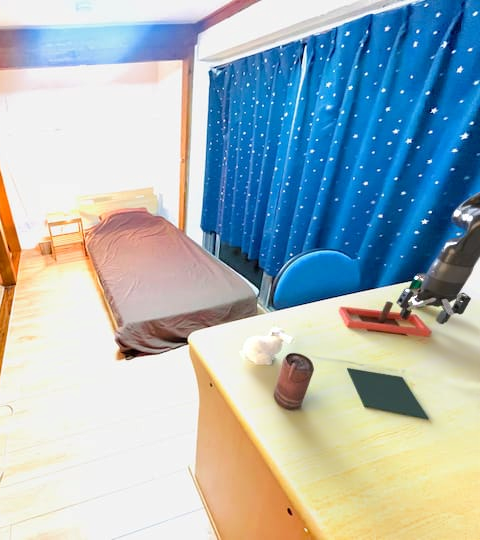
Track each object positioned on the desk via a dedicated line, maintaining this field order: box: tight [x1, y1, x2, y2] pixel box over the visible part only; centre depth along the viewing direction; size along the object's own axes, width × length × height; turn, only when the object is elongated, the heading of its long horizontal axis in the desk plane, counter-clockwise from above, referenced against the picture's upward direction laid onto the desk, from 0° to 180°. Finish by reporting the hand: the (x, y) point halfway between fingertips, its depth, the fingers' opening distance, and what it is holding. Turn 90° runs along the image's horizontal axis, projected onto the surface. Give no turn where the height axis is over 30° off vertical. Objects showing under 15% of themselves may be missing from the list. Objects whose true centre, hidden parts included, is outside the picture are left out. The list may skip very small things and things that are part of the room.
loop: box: [338, 306, 433, 338], centre depth 89 cm, size 8×20×2 cm, turn 71°
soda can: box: [408, 273, 427, 309], centre depth 94 cm, size 5×5×12 cm
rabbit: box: [239, 327, 294, 366], centre depth 79 cm, size 12×9×12 cm
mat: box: [346, 367, 430, 420], centre depth 70 cm, size 12×12×1 cm
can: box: [273, 352, 315, 412], centre depth 67 cm, size 6×6×14 cm
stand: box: [357, 301, 409, 337], centre depth 88 cm, size 10×10×9 cm
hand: (420, 320), depth 85 cm, fingers open, 8 cm apart
